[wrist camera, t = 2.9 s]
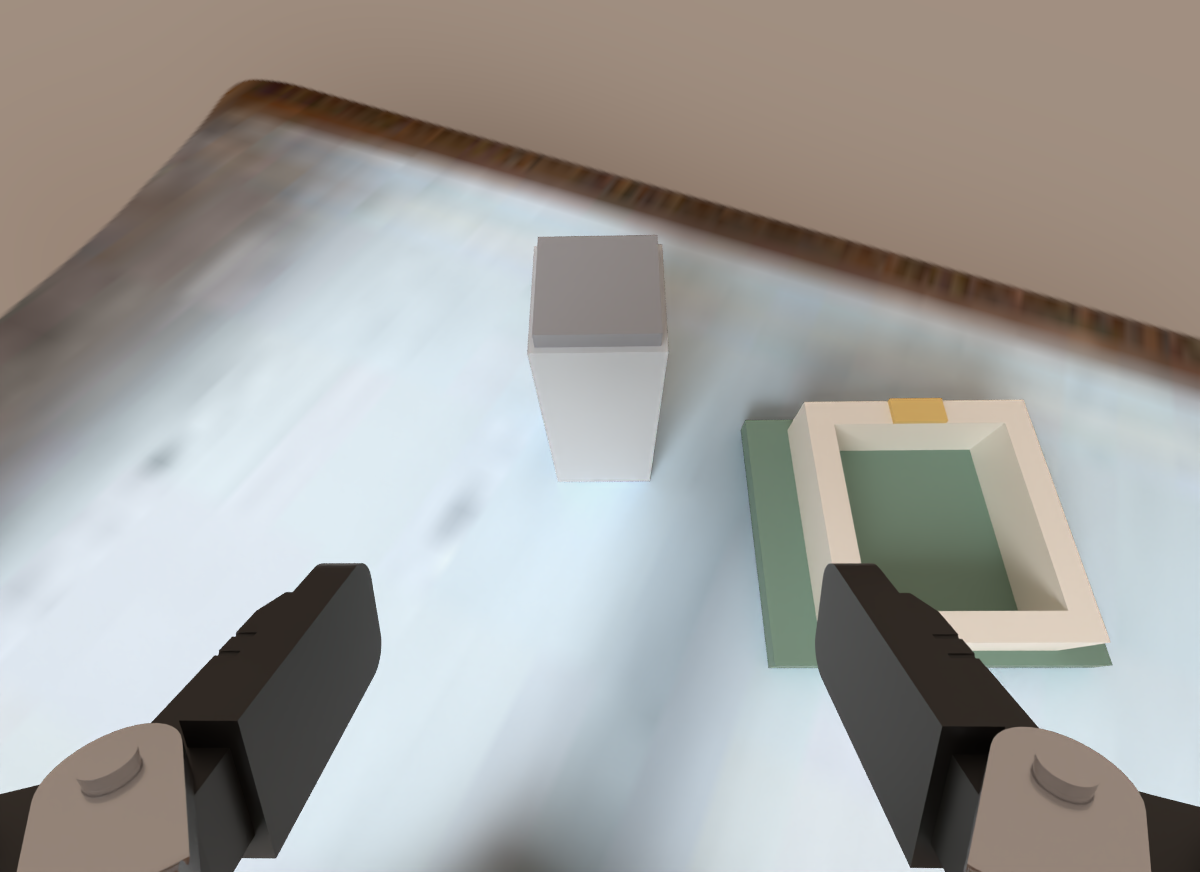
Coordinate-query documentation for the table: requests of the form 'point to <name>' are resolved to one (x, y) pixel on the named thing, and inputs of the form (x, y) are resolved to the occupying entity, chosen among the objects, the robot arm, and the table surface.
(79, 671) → the table surface
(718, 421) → the table surface
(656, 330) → the grey tall block
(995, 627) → the board
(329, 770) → the table surface
